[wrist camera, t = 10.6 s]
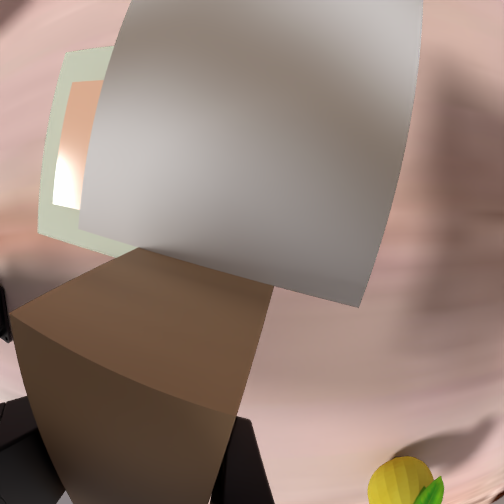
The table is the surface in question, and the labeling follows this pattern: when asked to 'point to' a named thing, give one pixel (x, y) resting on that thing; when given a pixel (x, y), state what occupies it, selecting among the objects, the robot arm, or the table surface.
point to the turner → (213, 225)
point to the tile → (75, 142)
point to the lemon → (404, 483)
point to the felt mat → (51, 215)
